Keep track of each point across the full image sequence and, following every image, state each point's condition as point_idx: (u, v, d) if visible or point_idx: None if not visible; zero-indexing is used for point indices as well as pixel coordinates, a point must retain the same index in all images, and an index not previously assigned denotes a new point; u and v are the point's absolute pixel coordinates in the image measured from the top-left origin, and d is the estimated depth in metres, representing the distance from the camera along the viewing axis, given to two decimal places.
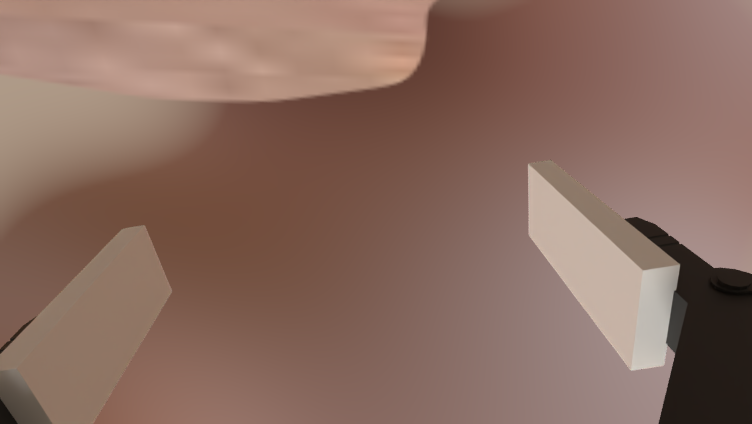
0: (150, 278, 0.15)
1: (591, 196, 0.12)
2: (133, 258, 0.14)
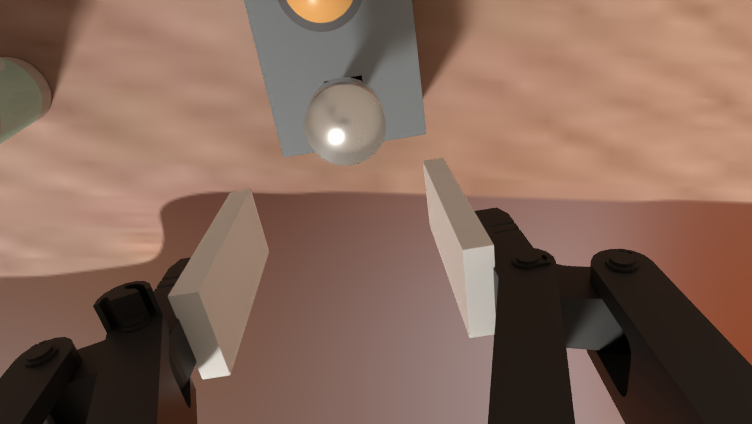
0: (257, 236, 0.17)
1: (457, 189, 0.14)
2: (247, 216, 0.16)
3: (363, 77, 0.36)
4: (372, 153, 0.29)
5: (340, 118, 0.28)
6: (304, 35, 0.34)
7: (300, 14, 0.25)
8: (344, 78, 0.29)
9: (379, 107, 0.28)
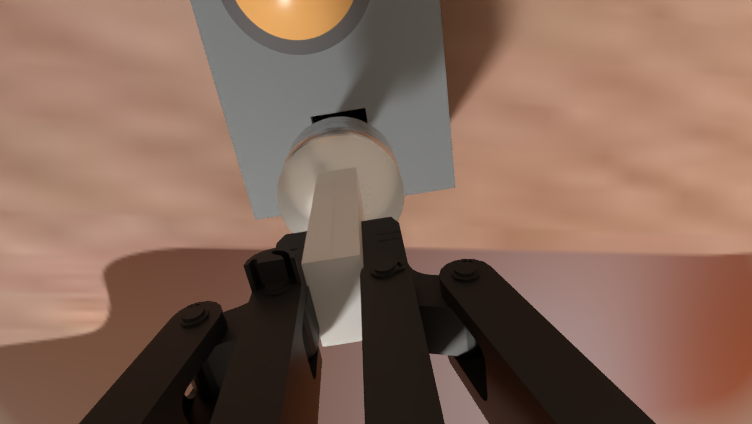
0: None
1: (354, 199, 0.15)
2: None
3: (367, 111, 0.25)
4: None
5: None
6: None
7: (261, 25, 0.14)
8: (339, 119, 0.19)
9: (394, 169, 0.18)
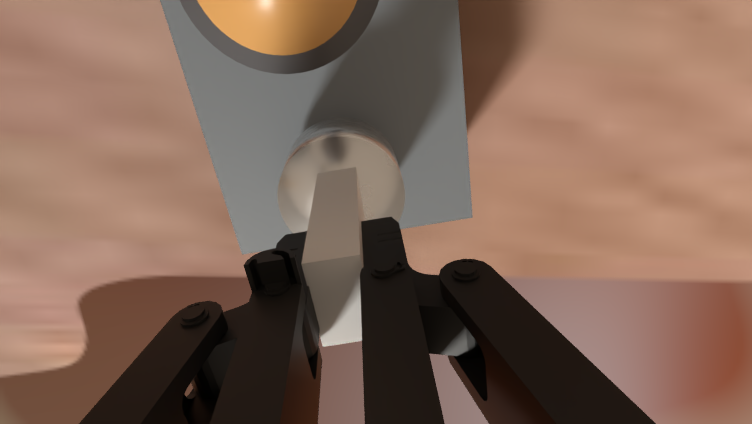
0: None
1: (354, 199, 0.15)
2: None
3: None
4: None
5: None
6: None
7: (234, 36, 0.11)
8: (340, 120, 0.19)
9: (395, 169, 0.18)
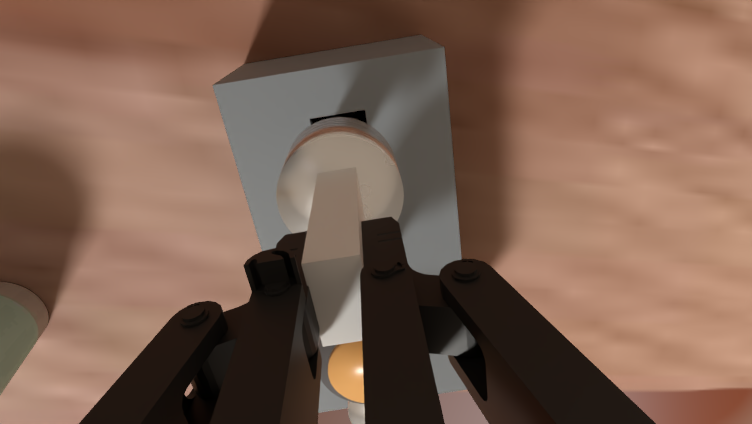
0: None
1: (354, 199, 0.15)
2: None
3: None
4: None
5: None
6: None
7: (349, 397, 0.21)
8: None
9: None
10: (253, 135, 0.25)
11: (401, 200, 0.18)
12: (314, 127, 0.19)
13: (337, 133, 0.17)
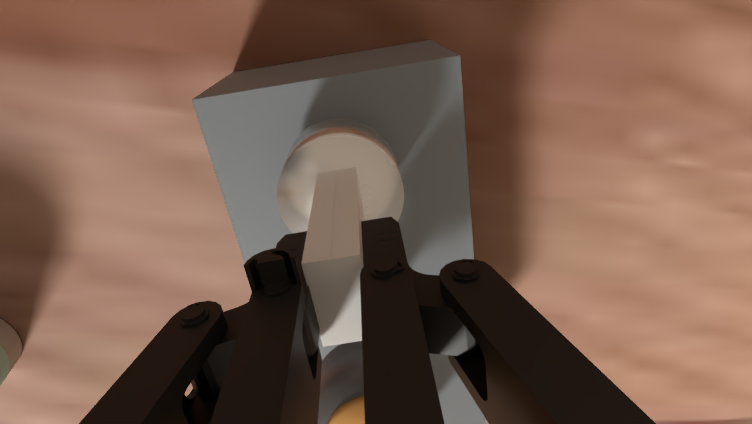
0: None
1: (354, 199, 0.15)
2: None
3: None
4: None
5: None
6: None
7: None
8: None
9: None
10: (240, 156, 0.22)
11: (401, 200, 0.18)
12: (314, 127, 0.19)
13: (338, 134, 0.17)
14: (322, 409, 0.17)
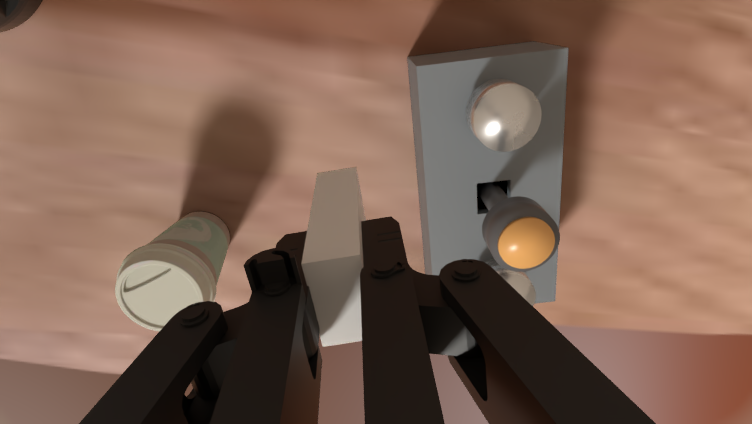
0: None
1: (354, 199, 0.15)
2: None
3: None
4: None
5: None
6: (469, 230, 0.42)
7: (508, 263, 0.33)
8: None
9: (533, 288, 0.40)
10: (435, 101, 0.37)
11: (539, 122, 0.34)
12: (490, 82, 0.35)
13: (511, 83, 0.33)
14: (499, 224, 0.33)
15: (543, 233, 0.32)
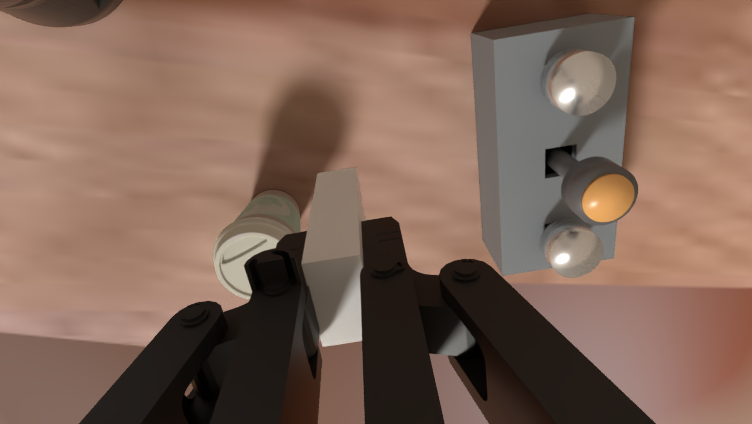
0: None
1: (354, 199, 0.15)
2: None
3: None
4: (590, 270, 0.44)
5: (575, 250, 0.43)
6: (537, 193, 0.45)
7: (591, 217, 0.36)
8: (570, 220, 0.45)
9: (601, 244, 0.43)
10: (510, 72, 0.40)
11: (614, 86, 0.37)
12: (565, 51, 0.38)
13: (588, 51, 0.36)
14: (584, 182, 0.35)
15: (624, 188, 0.35)
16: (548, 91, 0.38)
